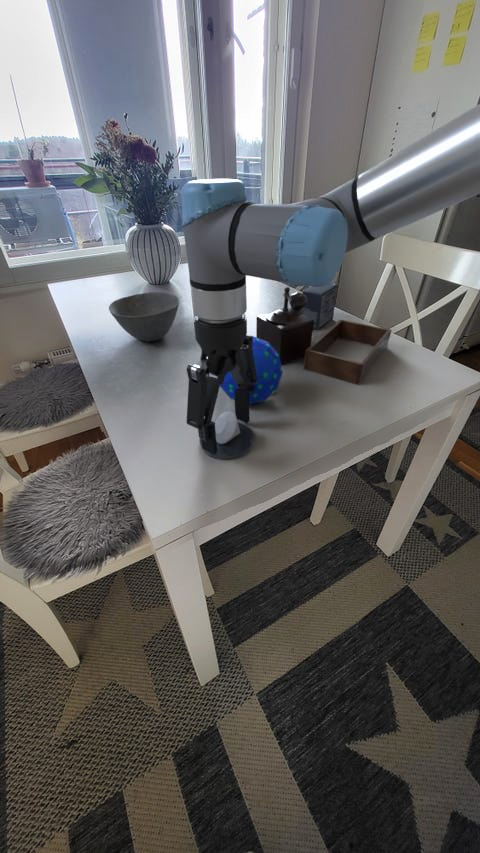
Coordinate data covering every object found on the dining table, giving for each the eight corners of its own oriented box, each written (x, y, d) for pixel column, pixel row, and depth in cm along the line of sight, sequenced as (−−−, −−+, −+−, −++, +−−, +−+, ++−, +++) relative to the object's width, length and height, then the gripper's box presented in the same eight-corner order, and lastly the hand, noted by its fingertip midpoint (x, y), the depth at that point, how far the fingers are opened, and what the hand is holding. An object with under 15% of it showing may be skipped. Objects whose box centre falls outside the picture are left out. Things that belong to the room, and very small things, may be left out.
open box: (386, 347, 91) (391, 329, 88) (358, 385, 77) (363, 365, 74) (337, 336, 97) (340, 319, 94) (303, 369, 83) (305, 350, 80)
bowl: (174, 320, 109) (169, 287, 103) (191, 343, 96) (187, 307, 89) (113, 331, 104) (104, 297, 97) (123, 357, 90) (113, 320, 84)
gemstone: (257, 425, 61) (236, 416, 58) (241, 455, 62) (219, 448, 59) (239, 412, 66) (219, 403, 63) (225, 440, 67) (204, 433, 64)
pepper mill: (252, 351, 91) (252, 279, 80) (285, 340, 96) (289, 271, 85) (290, 375, 81) (296, 297, 70) (325, 362, 86) (336, 287, 74)
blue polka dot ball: (252, 335, 80) (273, 315, 66) (278, 390, 82) (305, 382, 67) (198, 360, 77) (208, 346, 63) (226, 417, 79) (242, 415, 64)
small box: (314, 314, 110) (318, 280, 103) (333, 319, 107) (338, 283, 100) (298, 326, 103) (301, 290, 97) (318, 330, 100) (323, 294, 94)
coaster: (264, 435, 64) (264, 432, 64) (233, 467, 58) (233, 464, 57) (221, 417, 69) (221, 414, 68) (188, 446, 62) (187, 443, 62)
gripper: (241, 287, 57) (243, 398, 72) (143, 336, 43) (169, 462, 58) (281, 295, 54) (275, 410, 68) (188, 351, 40) (205, 481, 54)
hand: (226, 434), depth 63 cm, fingers open, 9 cm apart
